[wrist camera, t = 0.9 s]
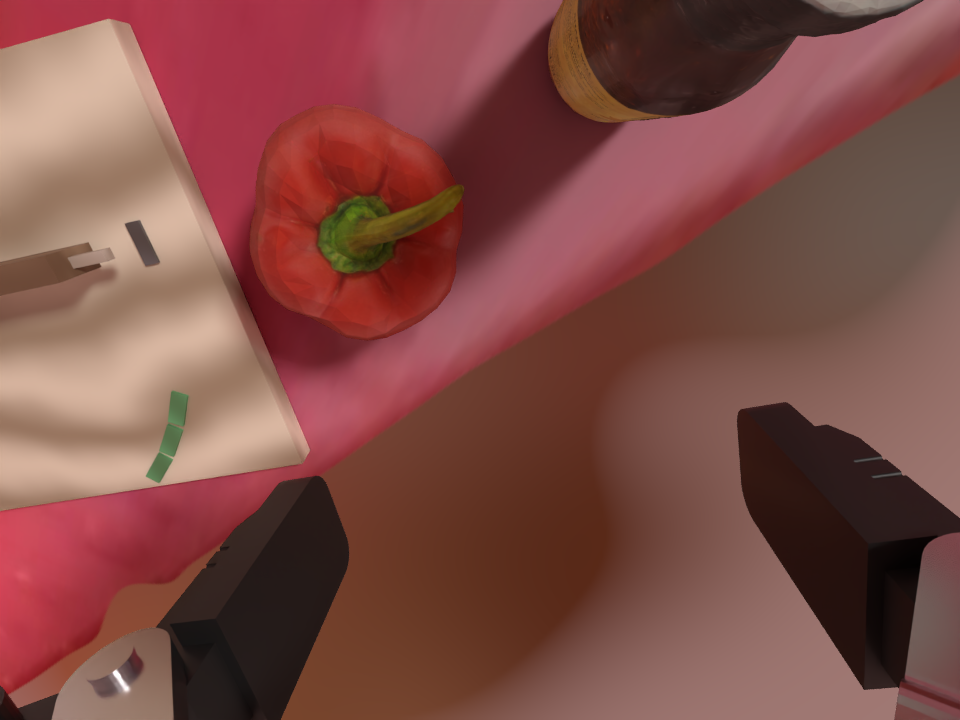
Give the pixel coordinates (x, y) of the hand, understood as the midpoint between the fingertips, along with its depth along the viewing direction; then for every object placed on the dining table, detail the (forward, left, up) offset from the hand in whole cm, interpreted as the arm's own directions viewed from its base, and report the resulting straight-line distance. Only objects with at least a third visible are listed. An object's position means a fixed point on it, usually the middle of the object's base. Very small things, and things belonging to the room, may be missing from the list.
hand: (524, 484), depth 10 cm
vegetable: (-3, -6, -22) cm, 23 cm away
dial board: (-1, -30, -22) cm, 37 cm away
